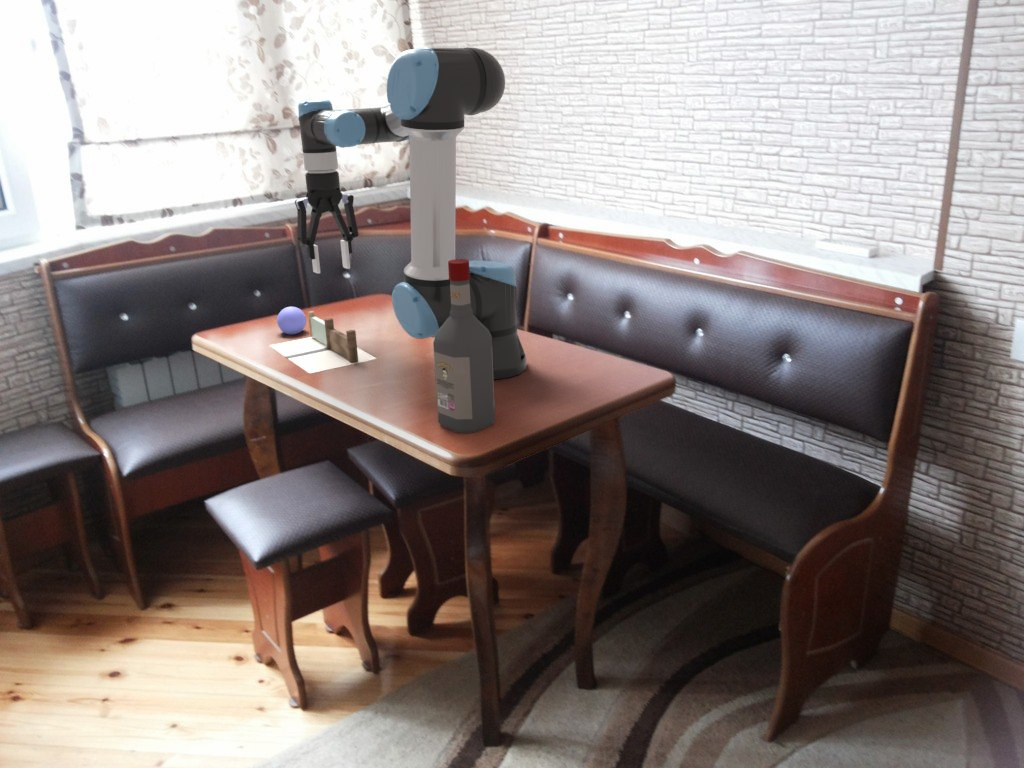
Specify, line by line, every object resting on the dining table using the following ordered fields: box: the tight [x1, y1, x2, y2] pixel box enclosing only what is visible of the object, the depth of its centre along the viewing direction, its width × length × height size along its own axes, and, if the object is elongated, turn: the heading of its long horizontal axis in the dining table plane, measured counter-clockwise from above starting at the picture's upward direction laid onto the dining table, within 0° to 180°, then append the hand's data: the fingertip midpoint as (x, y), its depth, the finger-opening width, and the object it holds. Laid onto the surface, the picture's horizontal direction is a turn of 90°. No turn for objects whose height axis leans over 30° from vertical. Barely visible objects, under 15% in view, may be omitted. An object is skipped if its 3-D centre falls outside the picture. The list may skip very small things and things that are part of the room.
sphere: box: [276, 306, 307, 336], centre depth 216 cm, size 7×7×7 cm
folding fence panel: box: [307, 310, 327, 345], centre depth 207 cm, size 10×2×6 cm, turn 34°
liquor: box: [432, 258, 496, 434], centre depth 154 cm, size 9×9×30 cm
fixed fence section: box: [323, 317, 358, 364], centre depth 197 cm, size 14×2×7 cm, turn 34°
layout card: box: [268, 336, 378, 374], centre depth 201 cm, size 26×16×1 cm, turn 34°
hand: (331, 270), depth 206 cm, fingers open, 7 cm apart
